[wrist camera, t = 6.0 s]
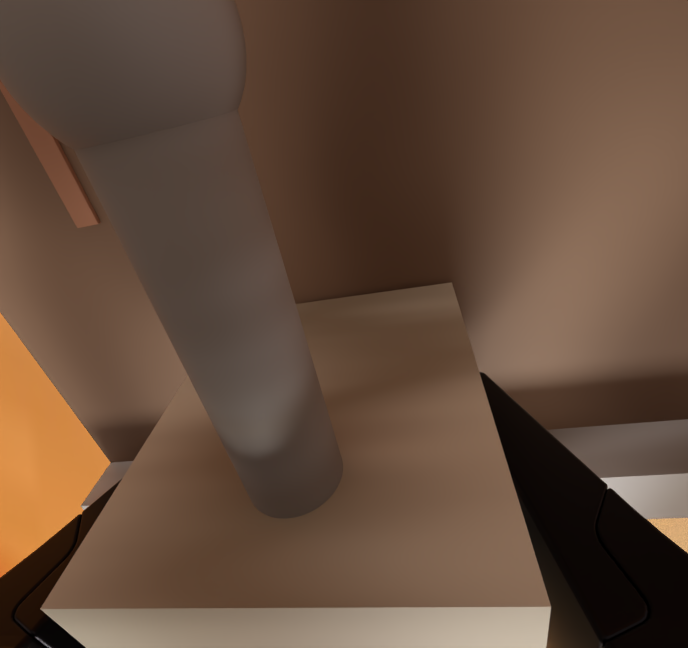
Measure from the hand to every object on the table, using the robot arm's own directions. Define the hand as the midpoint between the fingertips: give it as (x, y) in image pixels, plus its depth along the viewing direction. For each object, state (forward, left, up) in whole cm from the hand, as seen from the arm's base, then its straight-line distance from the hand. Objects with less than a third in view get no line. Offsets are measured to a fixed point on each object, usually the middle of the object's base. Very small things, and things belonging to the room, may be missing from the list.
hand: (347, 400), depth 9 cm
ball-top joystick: (0, -3, -1) cm, 3 cm away
